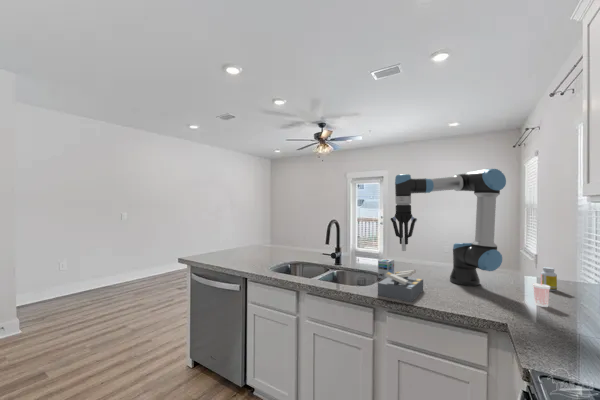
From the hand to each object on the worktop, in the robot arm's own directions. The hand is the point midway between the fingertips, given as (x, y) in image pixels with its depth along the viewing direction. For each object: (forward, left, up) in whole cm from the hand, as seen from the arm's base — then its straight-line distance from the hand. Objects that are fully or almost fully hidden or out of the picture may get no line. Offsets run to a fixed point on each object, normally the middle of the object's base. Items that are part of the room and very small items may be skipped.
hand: (403, 250), depth 144 cm
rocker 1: (+1, +7, -13) cm, 15 cm away
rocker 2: (+1, 0, -13) cm, 13 cm away
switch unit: (+1, 0, -22) cm, 22 cm away
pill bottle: (-60, -56, -22) cm, 85 cm away
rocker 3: (+1, -7, -13) cm, 15 cm away
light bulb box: (+18, -25, -22) cm, 38 cm away
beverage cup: (-55, -22, -22) cm, 63 cm away
